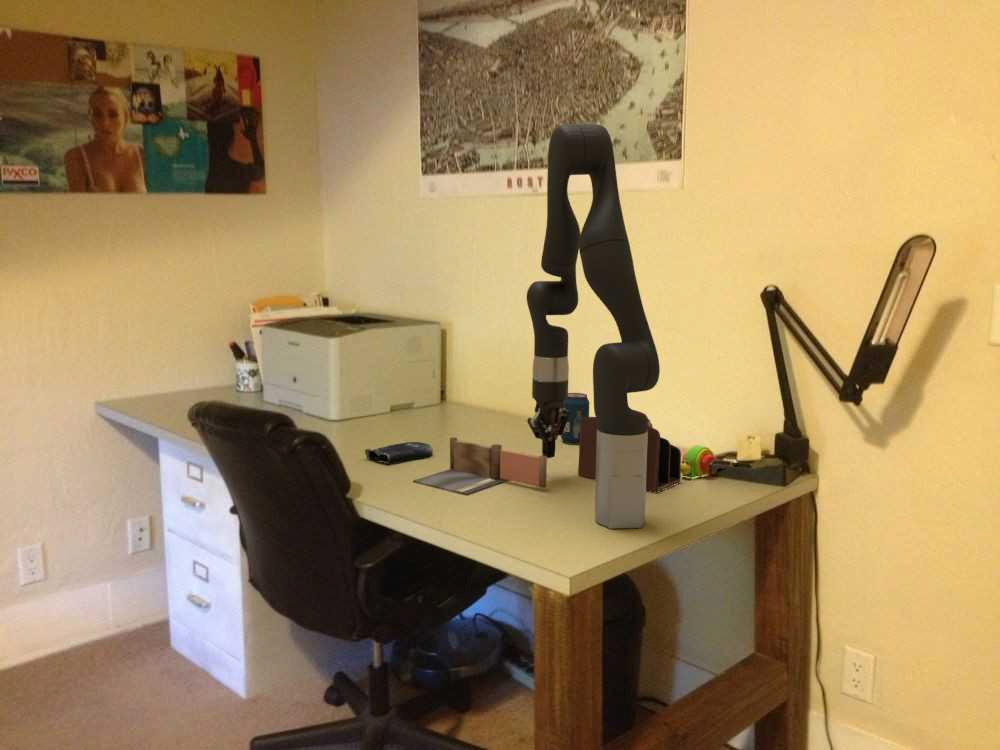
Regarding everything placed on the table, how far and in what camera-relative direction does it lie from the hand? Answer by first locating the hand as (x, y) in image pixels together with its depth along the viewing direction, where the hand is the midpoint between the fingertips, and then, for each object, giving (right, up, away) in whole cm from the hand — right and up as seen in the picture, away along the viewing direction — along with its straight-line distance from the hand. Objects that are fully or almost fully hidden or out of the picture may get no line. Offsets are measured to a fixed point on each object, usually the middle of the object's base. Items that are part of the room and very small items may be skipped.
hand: (548, 456), depth 194 cm
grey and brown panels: (-18, -5, +1) cm, 19 cm away
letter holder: (+17, -5, +2) cm, 18 cm away
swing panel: (-5, -5, -3) cm, 8 cm away
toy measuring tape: (+36, -4, +8) cm, 37 cm away
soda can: (+8, 0, +35) cm, 36 cm away
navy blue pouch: (-33, -2, +20) cm, 39 cm away
